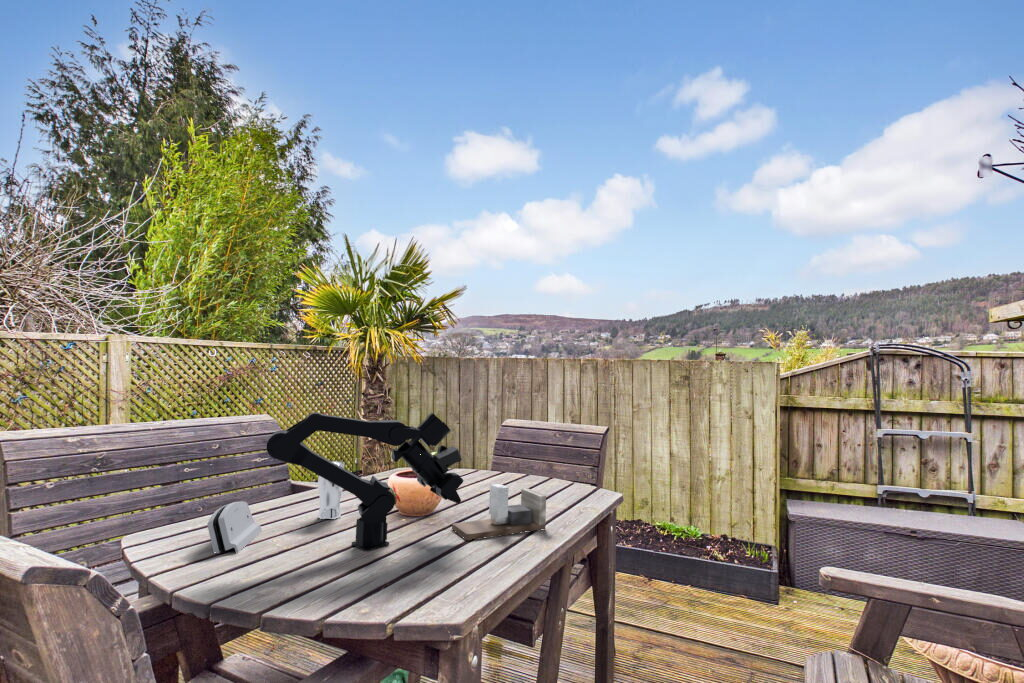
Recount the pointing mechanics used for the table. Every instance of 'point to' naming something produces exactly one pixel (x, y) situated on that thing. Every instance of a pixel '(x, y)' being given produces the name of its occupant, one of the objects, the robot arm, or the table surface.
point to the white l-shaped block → (498, 504)
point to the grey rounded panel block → (232, 527)
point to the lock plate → (510, 519)
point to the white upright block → (329, 497)
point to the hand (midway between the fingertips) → (459, 502)
